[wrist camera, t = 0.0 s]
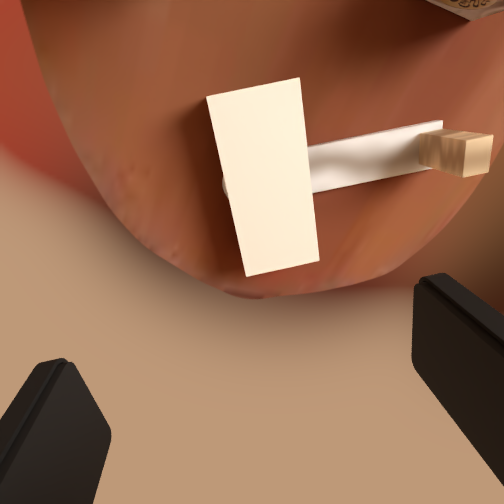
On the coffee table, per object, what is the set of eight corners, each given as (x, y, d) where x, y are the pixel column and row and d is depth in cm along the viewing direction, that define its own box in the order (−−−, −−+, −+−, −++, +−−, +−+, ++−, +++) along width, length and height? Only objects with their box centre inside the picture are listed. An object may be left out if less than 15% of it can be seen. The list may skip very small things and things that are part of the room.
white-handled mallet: (303, 146, 43) (328, 158, 34) (436, 119, 44) (494, 125, 35) (308, 190, 46) (332, 213, 37) (433, 165, 46) (487, 180, 37)
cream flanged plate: (206, 97, 39) (206, 96, 34) (288, 80, 40) (299, 77, 35) (242, 258, 49) (246, 276, 44) (308, 244, 49) (319, 260, 44)
